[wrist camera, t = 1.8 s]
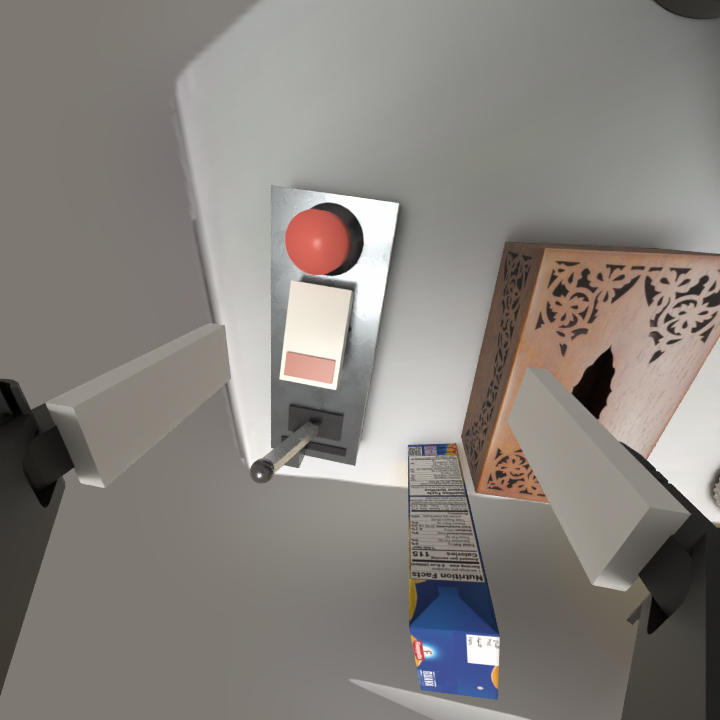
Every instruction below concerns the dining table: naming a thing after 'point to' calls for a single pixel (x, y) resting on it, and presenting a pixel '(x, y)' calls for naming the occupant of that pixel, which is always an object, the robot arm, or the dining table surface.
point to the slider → (296, 459)
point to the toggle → (282, 453)
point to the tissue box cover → (589, 346)
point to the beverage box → (448, 580)
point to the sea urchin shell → (717, 494)
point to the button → (317, 241)
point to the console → (368, 281)
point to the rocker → (315, 334)
